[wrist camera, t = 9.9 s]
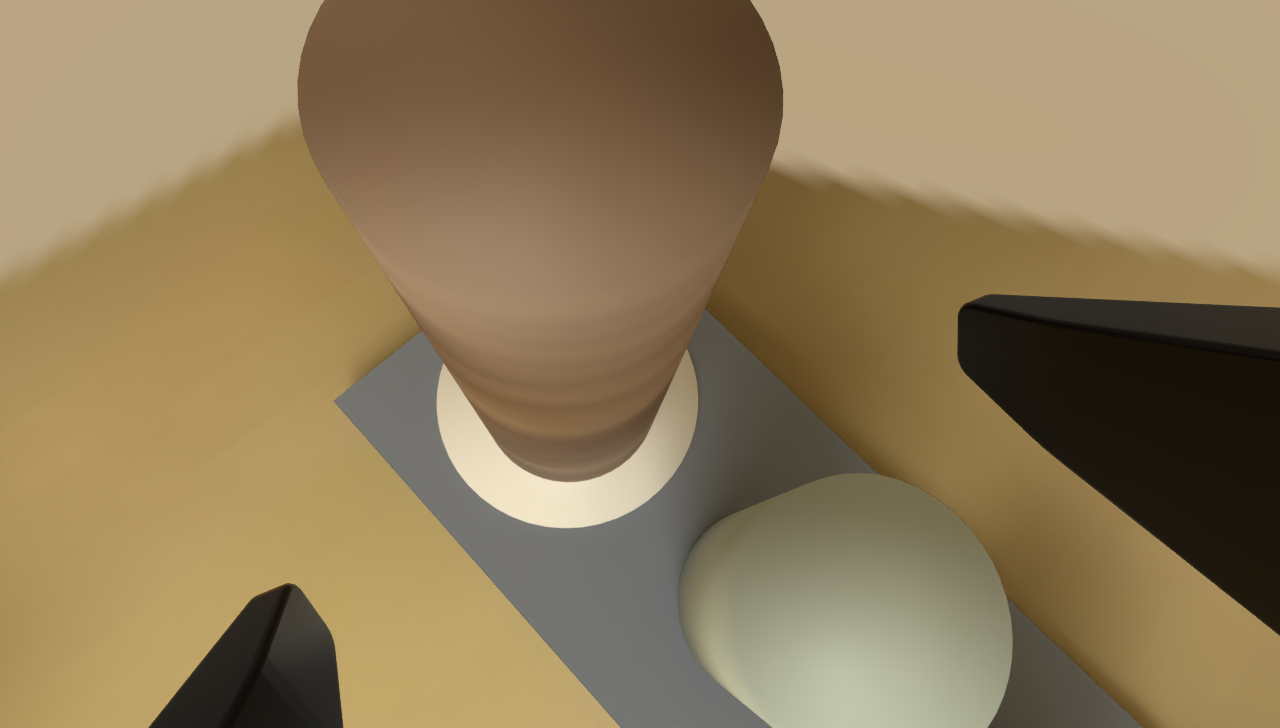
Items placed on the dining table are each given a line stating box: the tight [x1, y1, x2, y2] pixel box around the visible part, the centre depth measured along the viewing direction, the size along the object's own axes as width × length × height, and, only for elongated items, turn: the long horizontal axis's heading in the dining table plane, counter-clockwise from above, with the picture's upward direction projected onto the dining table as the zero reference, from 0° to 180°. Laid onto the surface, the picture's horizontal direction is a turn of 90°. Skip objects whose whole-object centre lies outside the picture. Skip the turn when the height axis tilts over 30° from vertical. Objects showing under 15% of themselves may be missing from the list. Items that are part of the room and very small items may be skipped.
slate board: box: [334, 309, 1143, 728], centre depth 19 cm, size 24×10×1 cm, turn 44°
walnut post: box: [298, 0, 783, 482], centre depth 13 cm, size 5×5×13 cm
